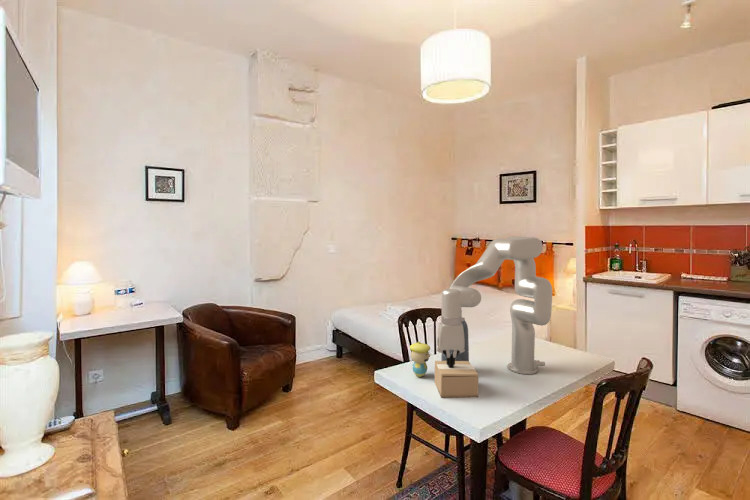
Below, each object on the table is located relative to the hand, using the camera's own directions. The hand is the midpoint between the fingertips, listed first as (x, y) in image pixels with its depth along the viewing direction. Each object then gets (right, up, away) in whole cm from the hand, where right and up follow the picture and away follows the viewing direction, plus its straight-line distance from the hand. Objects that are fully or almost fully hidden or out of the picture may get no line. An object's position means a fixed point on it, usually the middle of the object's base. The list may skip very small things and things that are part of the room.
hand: (450, 366), depth 154 cm
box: (+2, -9, +1) cm, 10 cm away
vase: (+5, -8, +19) cm, 21 cm away
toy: (-10, -9, +14) cm, 20 cm away
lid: (+2, -1, 0) cm, 2 cm away
